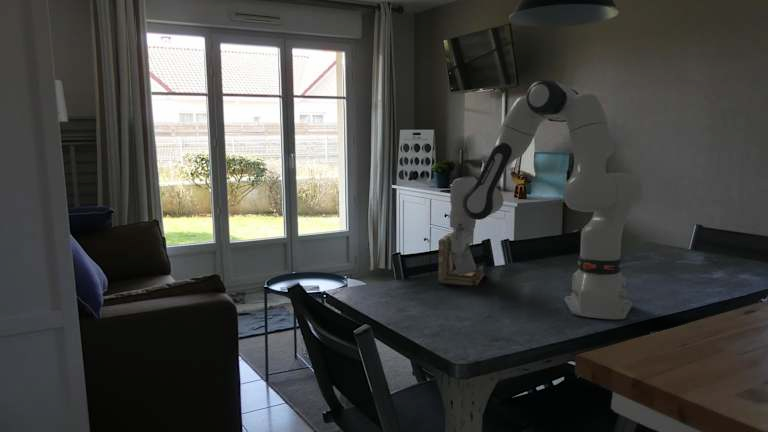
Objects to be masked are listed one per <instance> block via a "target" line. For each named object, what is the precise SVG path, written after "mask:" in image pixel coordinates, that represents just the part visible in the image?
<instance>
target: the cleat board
mask: <svg viewBox="0 0 768 432" xmlns="http://www.w3.org/2000/svg"><path fill="white" fill-rule="evenodd" d="M450 240H452V232H449V233H447V234H446V235H444V236H443V237H442V238H440V239H438V263H437V264H438V265H437V266H438V267H437V269H438V273H437V274H438V276H437V278H438V279H437V281H438V283H437V284H446V285H447V284H448V285H459V286H470V287H477V285H478V284H479V283H480V282H481V281H482V279H483V277H484V276H485V272H484V271H485V266H484V265H479V267H478V268H477V270H475V271H473V272H470V273H467V274H464V275H461V276H459V275H458V273H457V270H456V269H455V270H454V262H453V259H452V257H451V254H450V251H449V247H448V244H447V241H450Z"/></svg>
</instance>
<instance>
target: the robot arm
mask: <svg viewBox="0 0 768 432" xmlns="http://www.w3.org/2000/svg"><path fill="white" fill-rule="evenodd" d="M546 120H548V121H549V122H559V123H564V122H566V125H567V129H568V134H569V137H570V138H569V139H570V142H571V148H572V153H573V166H572V167H573V168H572V169H573V170H572V173H571V175H570V177H569V179H567V181H566V182H565V184H564V186H563V190H562V197H563V201H564V203H565V205H566V206H567V207H568V208H569V209H571V210H573V211H579V212H584V213H591V212H593V215H592V217H591V219H590V221H588V223H587V224H586V225H584V226H583V228H582V230H581V233H580V250H579V252H580V253H579V255H578V259H577V268H578V269H577V270H576V271H575V272H574V273H572V281H571V290H570V293H571V295H568V296H567V295H566V296H564V302H565V304H566V306H567V307H568V309H569V311H570V312H571V314H572V315H575V316H580V317H585V318H591V319H592V318H594V319H603V320H625V319H627V316H628V315H629V313H630V311H631V308H632V306H633V302H632V301H628V293H629V292H628V291H626V290H627V289H628V288H627V287H628V284H626V277H625V276H624V275H623V274H622V273H621V271H622V258H621V248H622V247H621V245H622V237H623V236H622V235H623V230H624V227H625V224H626V221H627V219H628V217H629V215H630V213H631V211H632V210H633V208H634V207H635V206H636V205H637V204H638V203H639V202H640V200H642V196H643V186H642V183H641V181H640V180H639V179H638V178H637V177H636V176H635V175H631V174H627V173H623V172H612V173H611V172H608V173H607V172H606V171H607V170H606V163H607V159H608V158H610V156H611V155H612V153H613V151H614V145H613V142H612V141H613V140H612V136H611V131H610V128H609V123H608V120H607V116H606V113H605V110H604V107H603V106H602V103H601V102H600V99H599V97H598V96H597V95H595V94H593V93H590V92H584V93H578V91H576V90H575V89H573V88H570V87H569V86H567V85H565V84H563V83H561V82H557V81H554V80H552V79H551V80H550V79H541V80H538V81H536V82H534V83H532V84H531V86H530V87H529V88H528V90H527V93H526V95H522V96H520V97H517V98H516V100H514V102H513V104H512V105H511V107H510V108H509V110H508V112H507V113H506V115H505V118H504V120H503V122H502V124H501V127H500V129H499V131H498V134H497V137H496V140H495V142H494V146H493V147H492V150H491V153H490V155H489V156H488V158H487V161H486V163H485V165H484V167H483V168H482V171H481V173H480V175H479V177H478V179H476V178H475V177H474V176H473V175H469V176H468V175H467V176H461V177H455V179H454V180H453V181H452V182H451V187H450V201H449V202H450V208H451V209H450V213H449V227H450V228H451V229H453V230H452V232H451V233H452V243H451V251H452V253H456V258H457V263H458V264H461V263H462V260H463V258H462V252H463V251H464V250H465V249H466V248H467V243H468V246H469V247H470V246H471V245H472V243H473V239H474V231H475V228H476V222H477V221H478V220H484V219H486V218H487V217H489V216H490V215H494V214H495V213H496V212H498V211H499V210H501V209H502V207H503V205H504V196H503V193H502V192H501V190H500V189H499V188H498V186H499V185H498V184H499V182H500V180H501V178H502V176H503V175H504V172H505V170H506V169H507V168H508V167H510V165H511V164H512V163H513V162H515V161H516V160H517V159H518V158H520V157H521V156H523V155H524V154H525V153H526V152H527V150H528V149H529V147H530V146H531V144H532V141H533V140H534V137H535V136H536V132H537V130H538V128H539V126H540V125H541V123H542V122H544V121H546ZM456 239H457V240H456Z"/></svg>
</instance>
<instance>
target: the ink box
mask: <svg viewBox="0 0 768 432" xmlns="http://www.w3.org/2000/svg"><path fill="white" fill-rule="evenodd" d="M456 240H457V239H456ZM451 243H452V240H450V241H447V244H448V247H449V251H450V254H451V257H452V259H453V266H454V267H455V271H457V273H458V275H459V276H461V275H464V274H467V273H470V272H476V271H477V269H478V268H477V265H476V263H475V261H474V257H473V254H472V251H471V249H470V245H469V246H468V243H467V248H466V249H465V250H464V251H463V252H462V258H463V260H462V263H461V264H458V263H457V258H456V253H452V251H451Z"/></svg>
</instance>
